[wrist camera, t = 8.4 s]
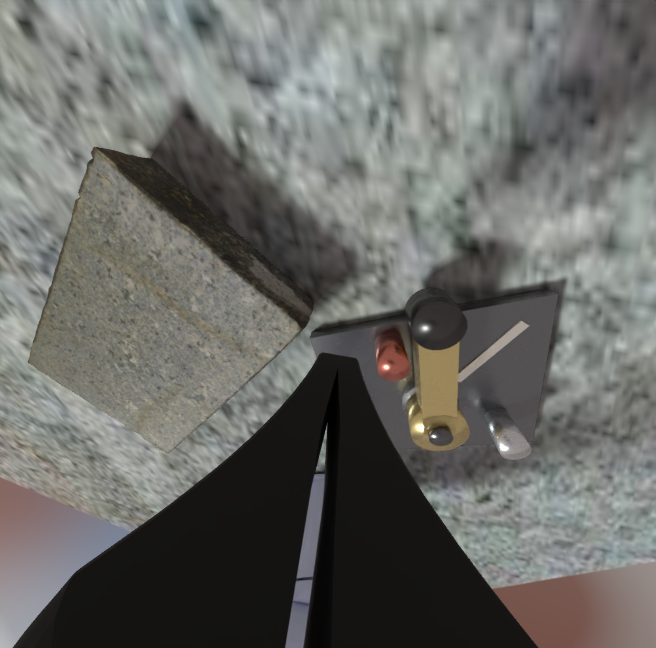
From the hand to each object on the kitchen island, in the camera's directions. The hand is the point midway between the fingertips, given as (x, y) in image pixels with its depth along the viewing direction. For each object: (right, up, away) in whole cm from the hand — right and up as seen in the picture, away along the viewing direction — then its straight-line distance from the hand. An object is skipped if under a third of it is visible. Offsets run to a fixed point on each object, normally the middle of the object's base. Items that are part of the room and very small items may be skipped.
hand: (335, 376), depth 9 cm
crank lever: (+7, -1, +9) cm, 11 cm away
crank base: (+8, -4, +12) cm, 15 cm away
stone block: (-12, +3, +12) cm, 17 cm away
